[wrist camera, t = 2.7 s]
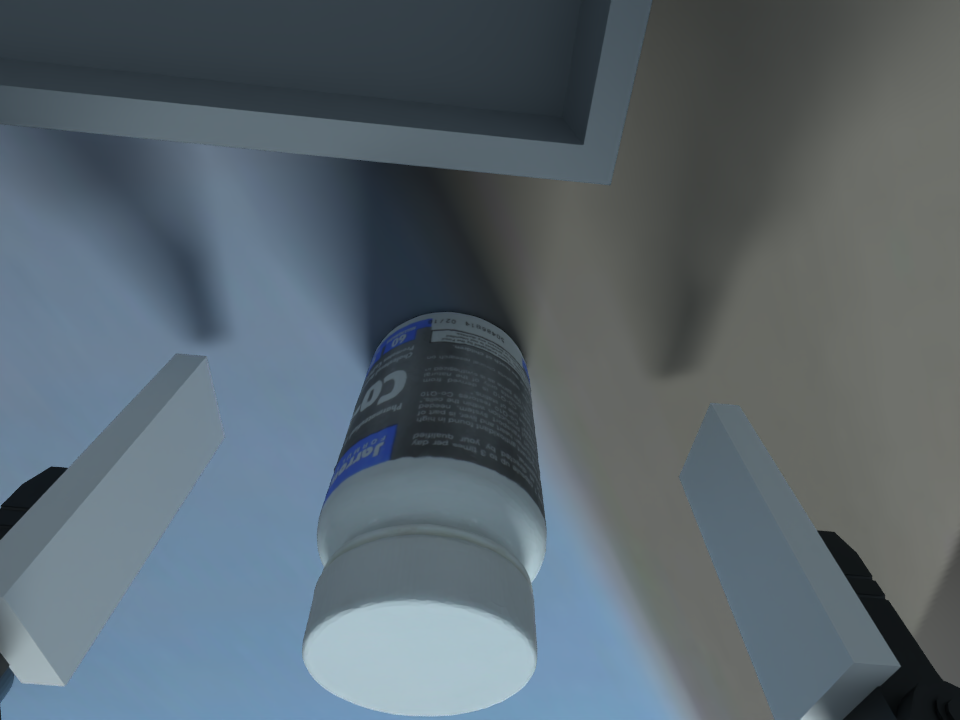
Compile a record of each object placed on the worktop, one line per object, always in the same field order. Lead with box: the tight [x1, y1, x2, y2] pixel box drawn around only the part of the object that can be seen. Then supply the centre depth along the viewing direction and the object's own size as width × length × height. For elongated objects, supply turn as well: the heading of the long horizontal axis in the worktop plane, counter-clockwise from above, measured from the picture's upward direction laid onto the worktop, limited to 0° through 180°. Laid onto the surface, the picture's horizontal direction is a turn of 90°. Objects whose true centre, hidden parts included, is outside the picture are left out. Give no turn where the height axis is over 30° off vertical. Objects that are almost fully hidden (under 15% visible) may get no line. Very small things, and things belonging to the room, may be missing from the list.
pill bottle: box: [302, 312, 546, 716], centre depth 12 cm, size 5×5×8 cm
